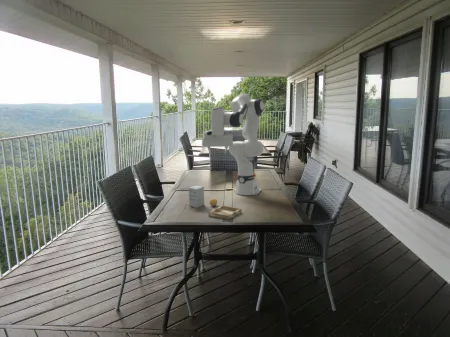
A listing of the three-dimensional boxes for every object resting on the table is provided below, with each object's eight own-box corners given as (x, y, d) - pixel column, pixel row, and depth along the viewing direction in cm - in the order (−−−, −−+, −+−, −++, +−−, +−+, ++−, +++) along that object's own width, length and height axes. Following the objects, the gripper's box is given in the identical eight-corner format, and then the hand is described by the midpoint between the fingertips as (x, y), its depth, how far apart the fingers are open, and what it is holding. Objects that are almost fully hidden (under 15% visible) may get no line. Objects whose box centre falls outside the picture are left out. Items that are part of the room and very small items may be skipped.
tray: (222, 209, 225) (222, 205, 225) (241, 212, 218) (241, 208, 218) (208, 216, 212) (208, 212, 212) (228, 219, 205) (228, 215, 204)
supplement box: (196, 203, 239) (196, 185, 236) (204, 205, 234) (204, 186, 232) (188, 205, 233) (188, 187, 231) (196, 207, 229) (196, 189, 226)
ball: (212, 204, 236) (212, 197, 235) (218, 205, 233) (218, 198, 232) (208, 206, 232) (208, 198, 231) (214, 207, 229) (214, 199, 228)
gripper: (232, 131, 232) (231, 152, 234) (201, 132, 228) (201, 153, 230) (234, 132, 226) (234, 153, 228) (202, 132, 221) (203, 154, 224)
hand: (217, 153), depth 229 cm, fingers open, 8 cm apart
